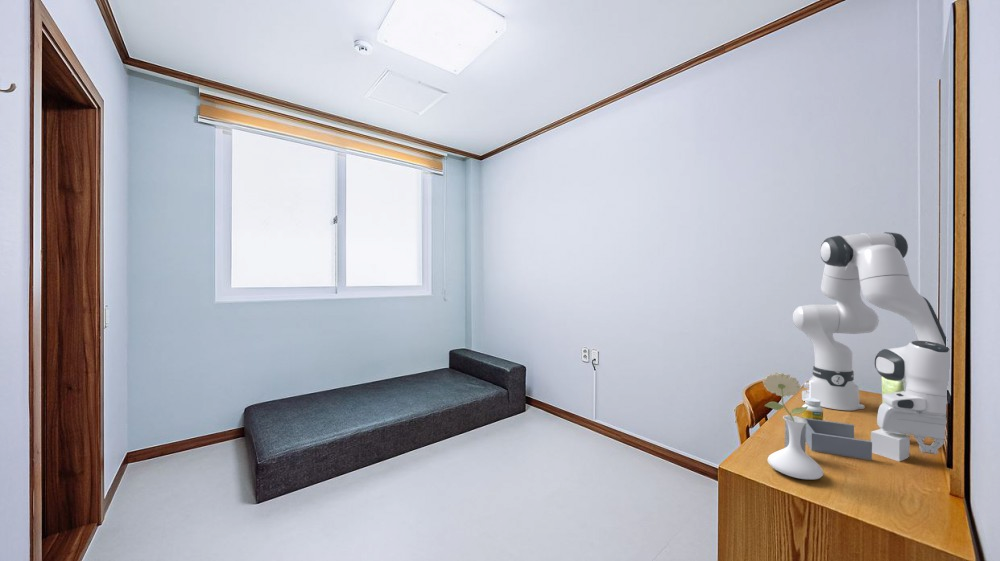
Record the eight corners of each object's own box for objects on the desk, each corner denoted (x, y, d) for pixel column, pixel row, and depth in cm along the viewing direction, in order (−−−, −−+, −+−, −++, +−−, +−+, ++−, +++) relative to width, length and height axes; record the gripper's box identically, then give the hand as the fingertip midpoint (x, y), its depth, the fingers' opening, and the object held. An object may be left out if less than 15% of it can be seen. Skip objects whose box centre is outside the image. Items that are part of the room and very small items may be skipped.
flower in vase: (830, 475, 96) (831, 376, 96) (814, 490, 90) (816, 384, 90) (770, 455, 107) (771, 366, 107) (752, 467, 100) (753, 372, 100)
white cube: (909, 457, 106) (909, 436, 106) (899, 462, 104) (899, 440, 104) (880, 448, 112) (881, 428, 112) (870, 452, 109) (870, 431, 109)
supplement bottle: (811, 425, 129) (812, 396, 129) (827, 431, 124) (827, 401, 123) (797, 425, 128) (798, 397, 128) (812, 432, 123) (813, 402, 123)
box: (799, 432, 123) (799, 417, 122) (852, 440, 117) (852, 424, 117) (811, 450, 110) (811, 433, 110) (871, 460, 104) (871, 442, 104)
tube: (911, 439, 116) (907, 375, 117) (907, 444, 114) (903, 378, 114) (885, 434, 121) (881, 372, 121) (880, 438, 118) (876, 375, 119)
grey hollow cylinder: (786, 450, 110) (786, 414, 110) (806, 455, 107) (806, 419, 107) (783, 455, 107) (783, 419, 107) (803, 461, 104) (804, 423, 104)
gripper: (976, 404, 102) (976, 455, 102) (874, 393, 111) (874, 441, 111) (993, 412, 96) (992, 466, 97) (884, 400, 106) (883, 449, 106)
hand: (928, 452), depth 104 cm, fingers closed
